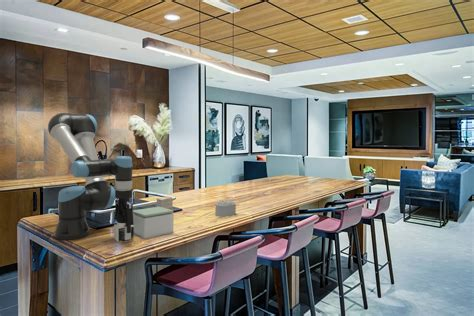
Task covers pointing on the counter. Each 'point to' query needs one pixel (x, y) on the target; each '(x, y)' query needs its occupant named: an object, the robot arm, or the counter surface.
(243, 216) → the counter surface
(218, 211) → the lumpy-topped squat cylinder
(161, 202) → the supplement box
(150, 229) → the storage box
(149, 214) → the lid
